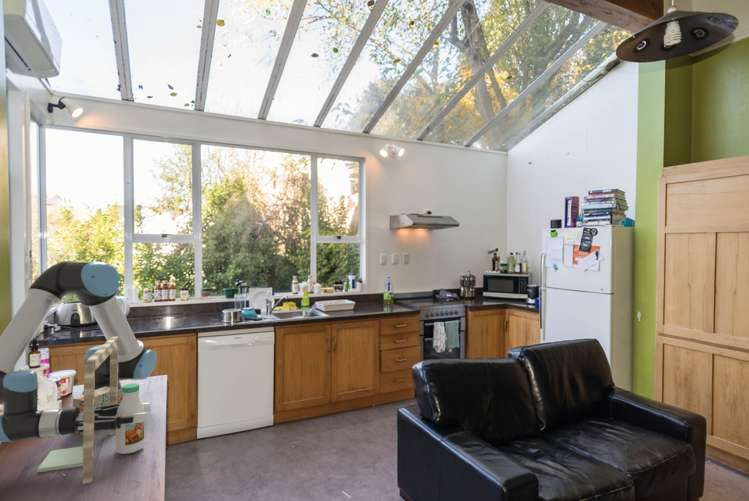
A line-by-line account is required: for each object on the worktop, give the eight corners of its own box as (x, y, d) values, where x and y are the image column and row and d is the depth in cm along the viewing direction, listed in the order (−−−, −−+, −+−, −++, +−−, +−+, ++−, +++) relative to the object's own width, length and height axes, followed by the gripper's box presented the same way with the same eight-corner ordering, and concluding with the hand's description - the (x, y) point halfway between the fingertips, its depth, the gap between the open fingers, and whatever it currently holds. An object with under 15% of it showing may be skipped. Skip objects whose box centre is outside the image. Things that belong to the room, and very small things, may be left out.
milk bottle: (113, 456, 125) (114, 391, 124) (117, 445, 132) (118, 382, 132) (142, 452, 128) (143, 387, 128) (145, 440, 135) (146, 380, 135)
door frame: (110, 432, 142) (111, 336, 141) (117, 431, 142) (118, 336, 142) (82, 484, 112) (84, 362, 111) (91, 482, 113) (92, 362, 112)
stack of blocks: (126, 409, 161) (126, 378, 161) (139, 412, 159) (139, 380, 159) (71, 433, 141) (72, 397, 141) (85, 436, 139) (85, 400, 139)
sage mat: (51, 453, 127) (51, 450, 127) (93, 448, 131) (93, 444, 131) (37, 472, 117) (37, 469, 117) (83, 465, 121) (83, 462, 121)
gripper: (72, 420, 133) (152, 411, 141) (48, 450, 114) (142, 437, 122) (72, 396, 133) (152, 389, 141) (48, 423, 114) (142, 412, 122)
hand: (147, 411), depth 131 cm, fingers closed on milk bottle, 7 cm apart
